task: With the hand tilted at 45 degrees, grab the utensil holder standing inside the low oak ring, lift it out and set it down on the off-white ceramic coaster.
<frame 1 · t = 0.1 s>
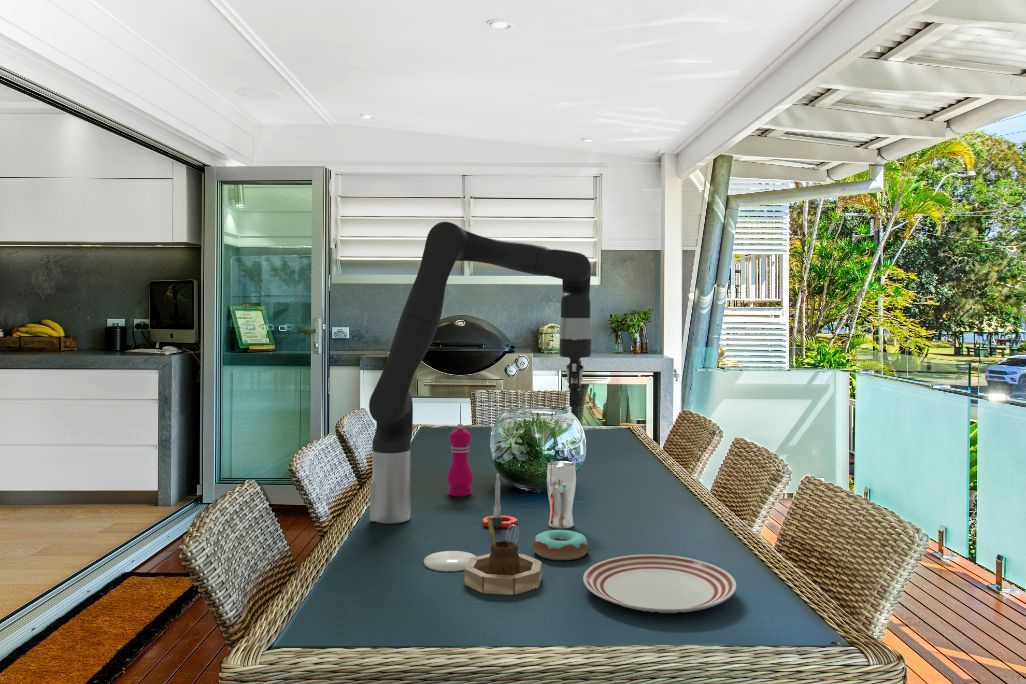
hand: (574, 404, 181), 29 cm above the table, tool pointing down, fingers open, 8 cm apart
dinner plate: (658, 595, 139), on the table
coaster: (451, 562, 155), on the table
pepper mill: (460, 494, 214), on the table
oak ring: (503, 580, 145), on the table
donut: (560, 555, 162), on the table
beer glass: (561, 526, 183), on the table
tow hook: (499, 524, 184), on the table
utensil holder: (503, 581, 145), resting in oak ring
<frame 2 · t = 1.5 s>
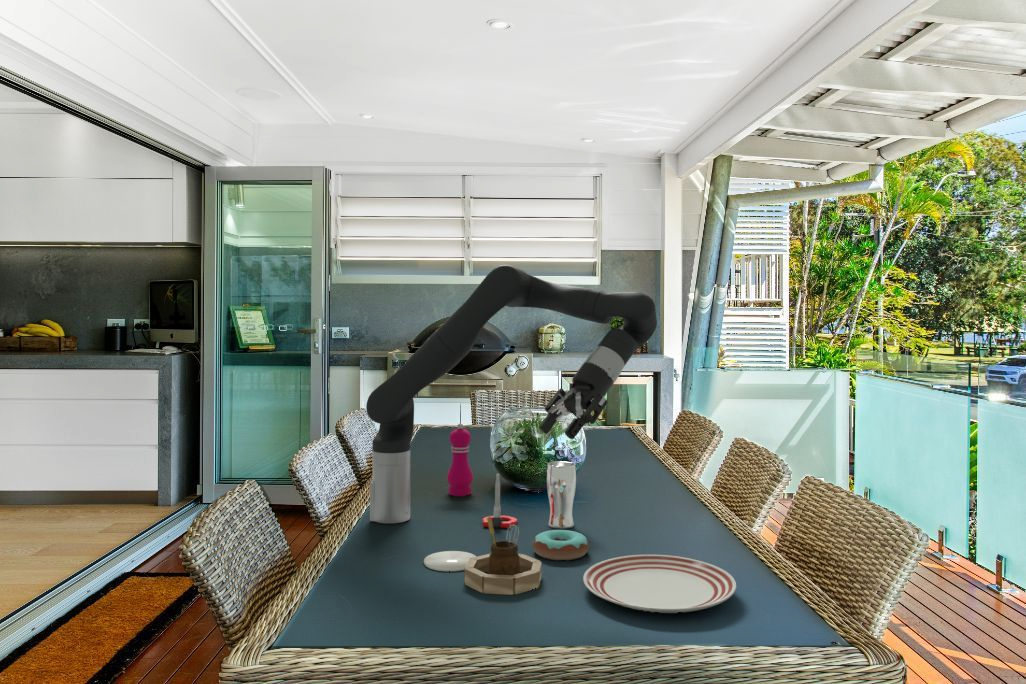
hand: (555, 433, 151), 27 cm above the table, tool tilted 45°, fingers open, 8 cm apart
nothing on the table moved.
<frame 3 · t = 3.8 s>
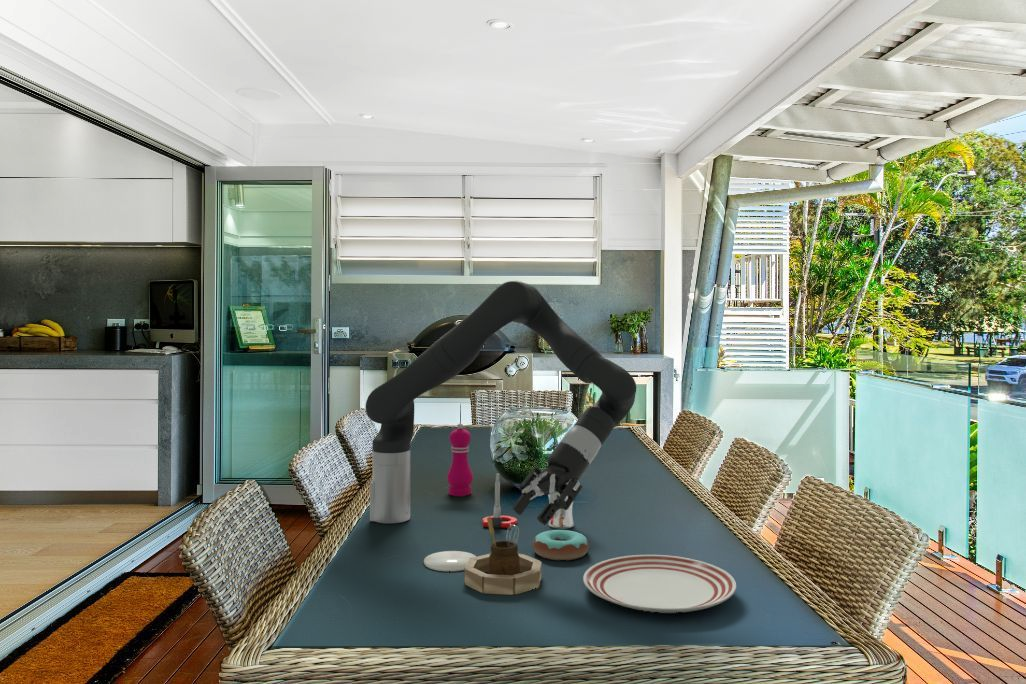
hand: (528, 517, 148), 11 cm above the table, tool tilted 45°, fingers open, 8 cm apart
nothing on the table moved.
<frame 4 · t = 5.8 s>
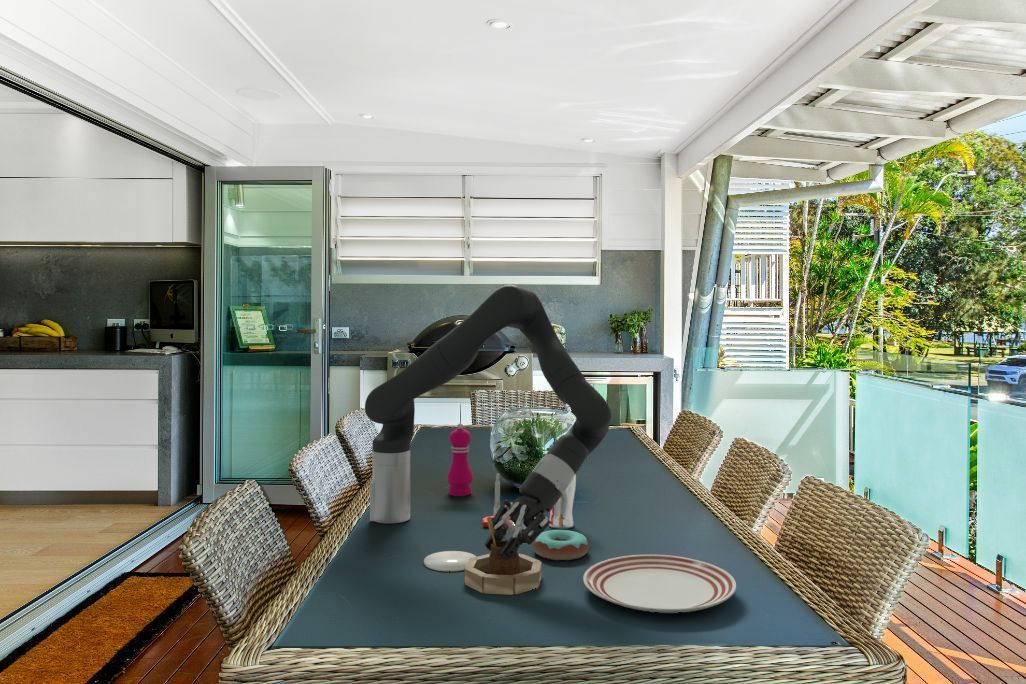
hand: (496, 552, 144), 6 cm above the table, tool tilted 45°, fingers closed on utensil holder, 5 cm apart
utensil holder: (503, 581, 145), resting in oak ring, touching gripper
everything else where it was.
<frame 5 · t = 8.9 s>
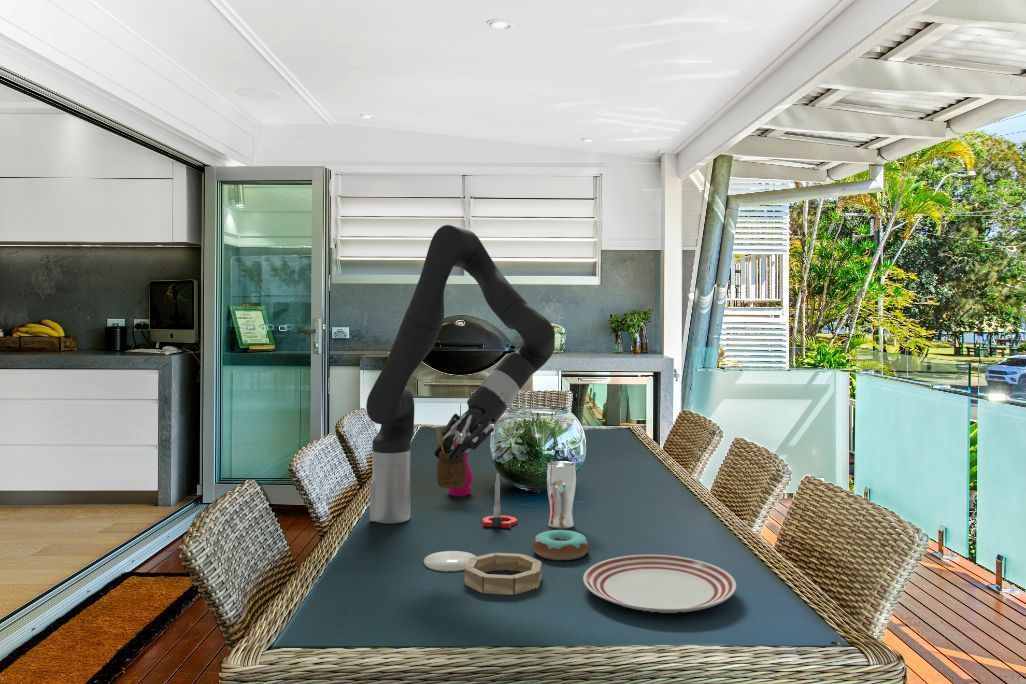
hand: (443, 458, 154), 22 cm above the table, tool tilted 45°, fingers closed on utensil holder, 5 cm apart
utensil holder: (451, 486, 155), point 16 cm above the table, touching gripper
everything else where it was.
when the fingers open (7 cm above the table, at t = 11.9 s): utensil holder stays where it is, resting on coaster.
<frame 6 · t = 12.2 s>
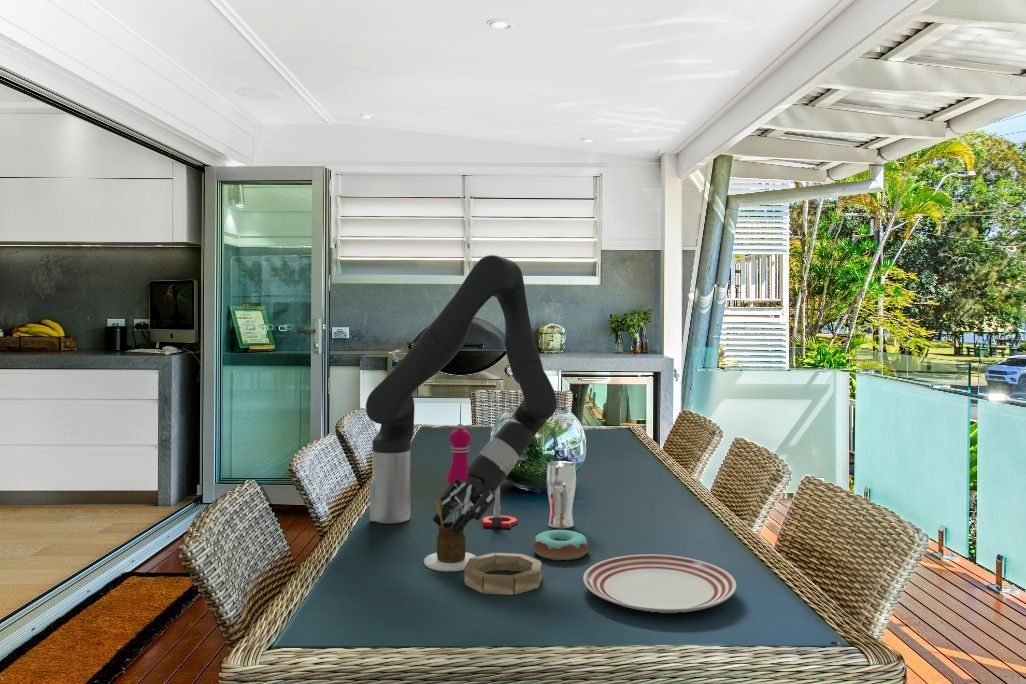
hand: (444, 527, 154), 7 cm above the table, tool tilted 45°, fingers open, 7 cm apart
utensil holder: (450, 559, 156), resting on coaster
everything else where it was.
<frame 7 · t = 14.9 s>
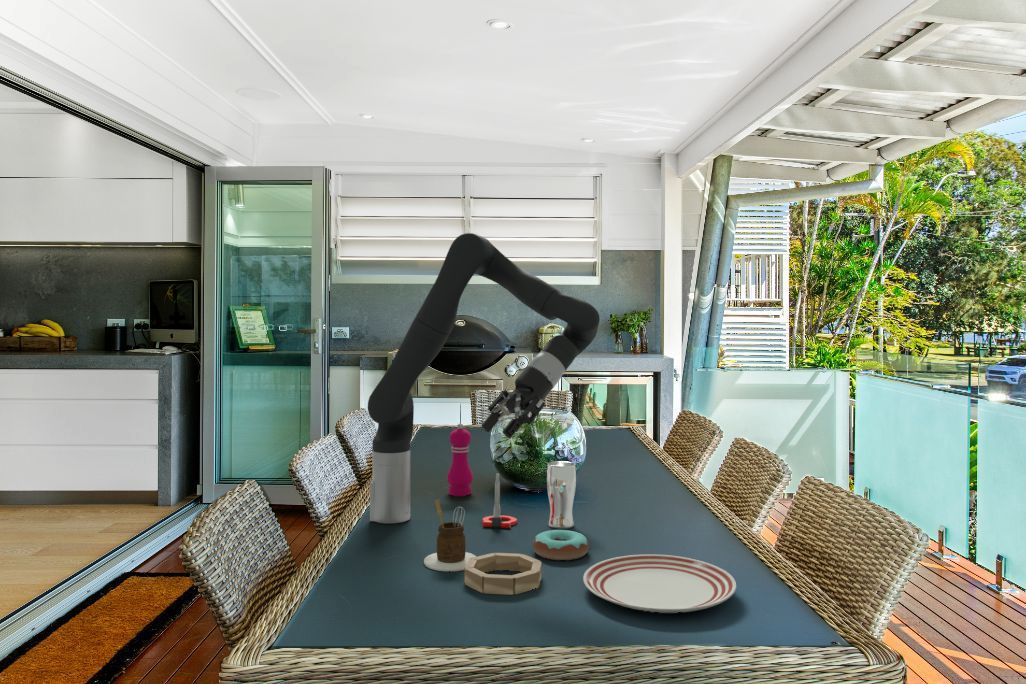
hand: (495, 432, 160), 26 cm above the table, tool tilted 45°, fingers open, 8 cm apart
nothing on the table moved.
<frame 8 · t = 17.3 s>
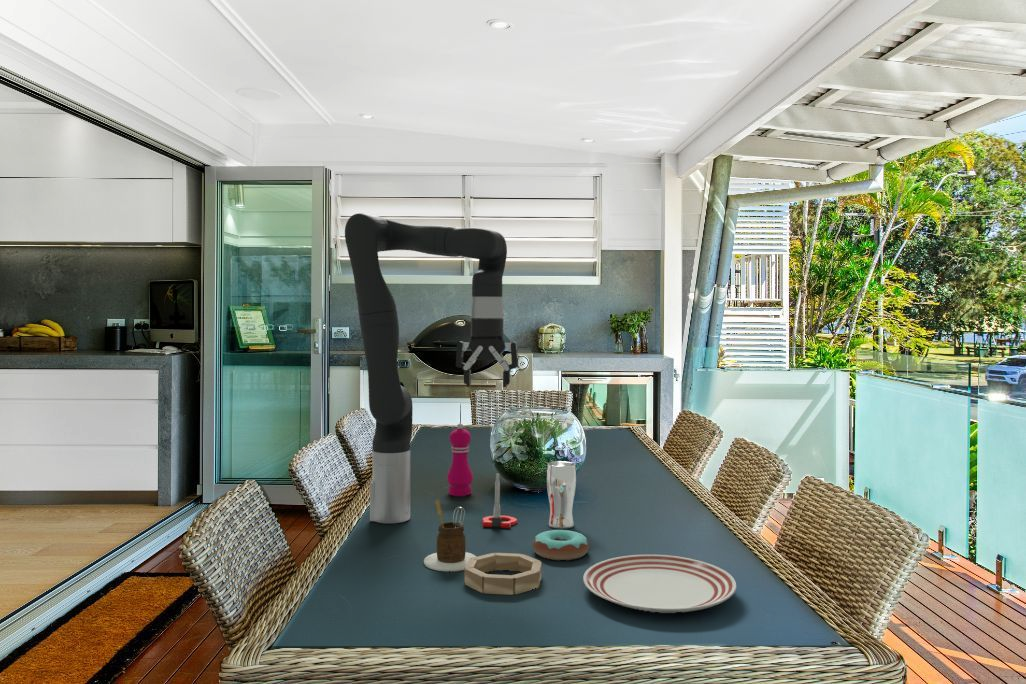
hand: (486, 386, 175), 34 cm above the table, tool pointing down, fingers open, 8 cm apart
nothing on the table moved.
at the end: utensil holder 0.3 cm from the coaster (horizontally); utensil holder tilted 0°; utensil holder resting on coaster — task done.
